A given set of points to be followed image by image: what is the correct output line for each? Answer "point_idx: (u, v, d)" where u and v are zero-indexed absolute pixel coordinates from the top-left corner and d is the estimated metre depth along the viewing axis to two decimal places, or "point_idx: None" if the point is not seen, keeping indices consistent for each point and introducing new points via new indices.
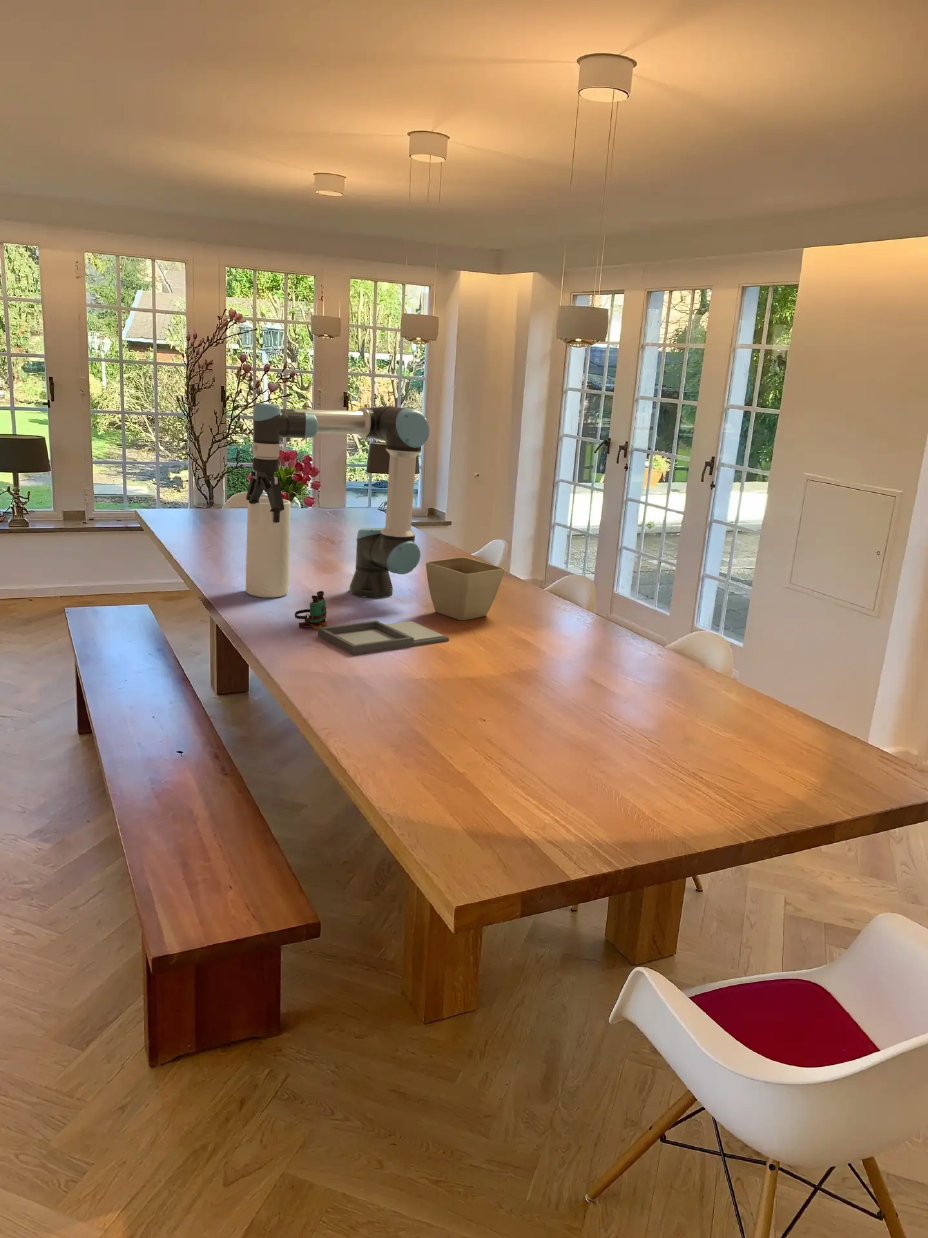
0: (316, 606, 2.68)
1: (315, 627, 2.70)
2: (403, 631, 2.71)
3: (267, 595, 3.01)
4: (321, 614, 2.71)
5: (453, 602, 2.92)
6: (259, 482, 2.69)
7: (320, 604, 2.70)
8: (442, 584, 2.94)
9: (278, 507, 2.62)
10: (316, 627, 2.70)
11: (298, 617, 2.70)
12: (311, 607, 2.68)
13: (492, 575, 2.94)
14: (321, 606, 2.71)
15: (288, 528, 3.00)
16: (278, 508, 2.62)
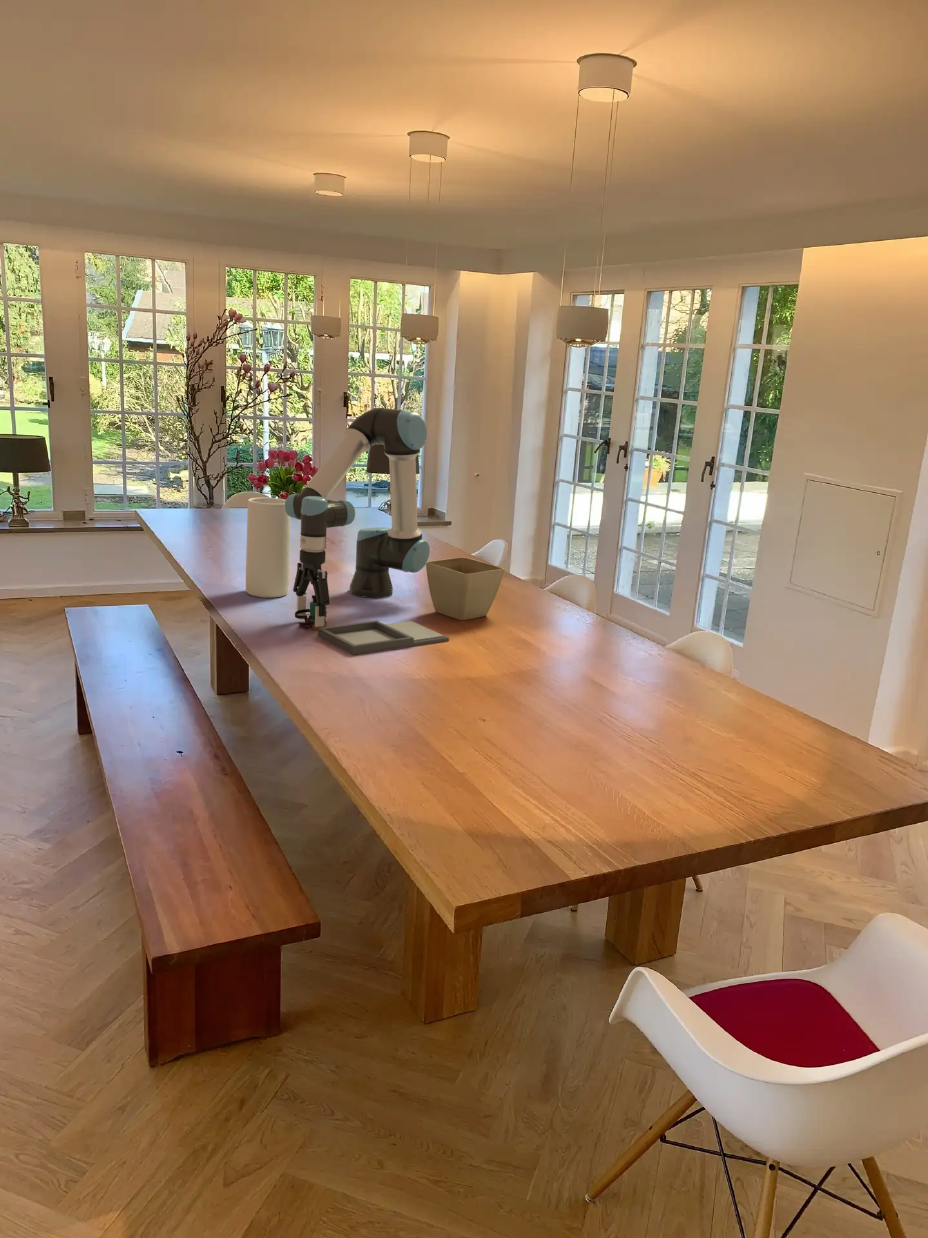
0: None
1: (315, 627, 2.70)
2: (403, 631, 2.71)
3: (267, 595, 3.01)
4: None
5: (453, 602, 2.92)
6: (306, 573, 2.70)
7: None
8: (442, 584, 2.94)
9: (324, 602, 2.65)
10: None
11: (298, 617, 2.70)
12: (311, 607, 2.68)
13: (492, 575, 2.94)
14: None
15: (288, 528, 3.00)
16: (324, 603, 2.65)
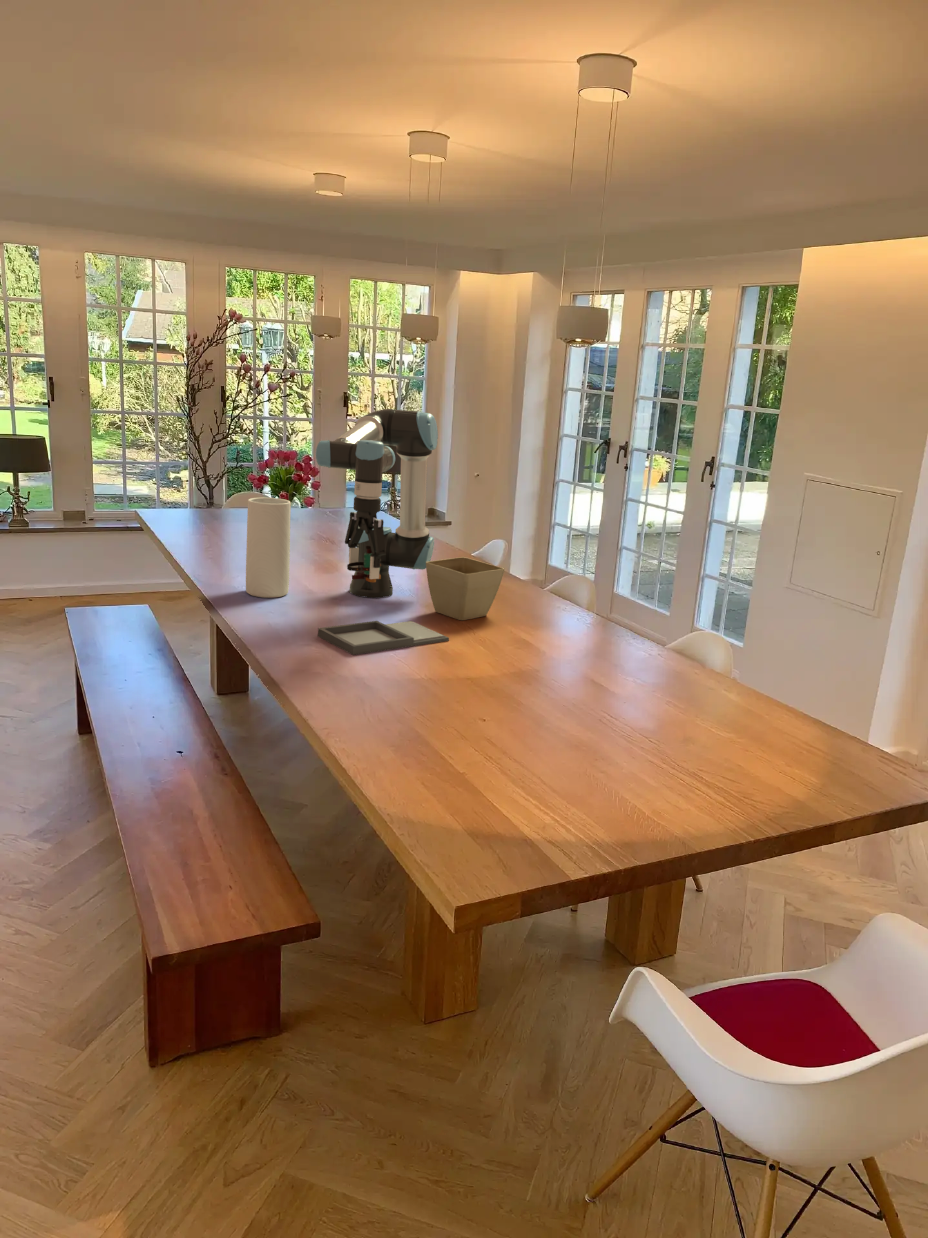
0: None
1: (369, 579, 2.55)
2: (403, 631, 2.71)
3: (267, 595, 3.01)
4: None
5: (453, 602, 2.92)
6: (360, 522, 2.55)
7: None
8: (442, 584, 2.94)
9: (380, 552, 2.49)
10: (370, 579, 2.55)
11: (351, 569, 2.55)
12: (365, 558, 2.53)
13: (492, 575, 2.94)
14: None
15: (288, 528, 3.00)
16: (380, 553, 2.49)
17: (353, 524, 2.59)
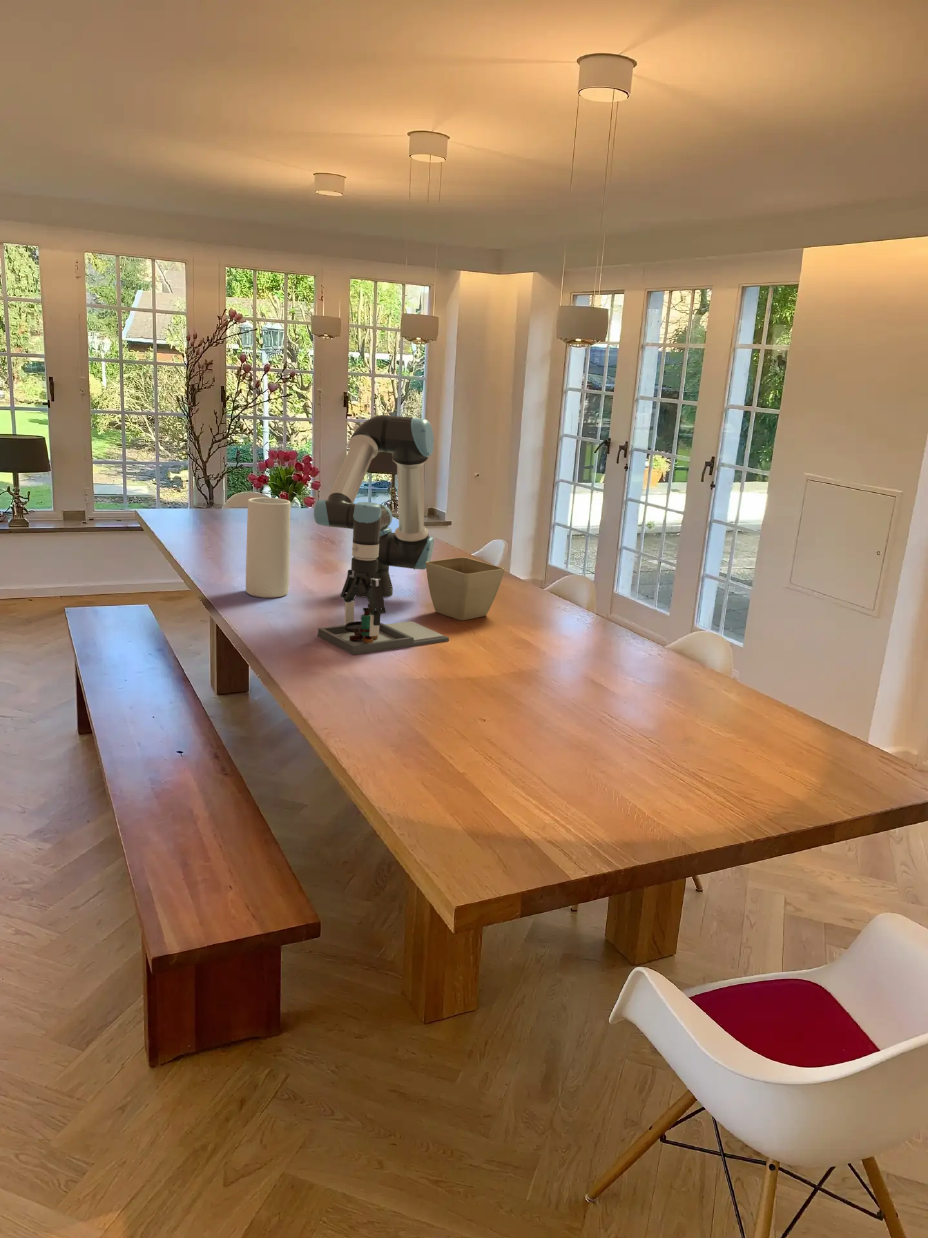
0: (368, 618, 2.58)
1: (366, 640, 2.59)
2: (403, 631, 2.71)
3: (267, 595, 3.01)
4: None
5: (453, 602, 2.92)
6: (357, 582, 2.60)
7: None
8: (441, 584, 2.94)
9: (380, 610, 2.53)
10: (367, 640, 2.60)
11: (349, 630, 2.59)
12: (363, 620, 2.58)
13: (492, 575, 2.94)
14: None
15: (288, 528, 3.00)
16: (380, 612, 2.53)
17: (350, 581, 2.64)
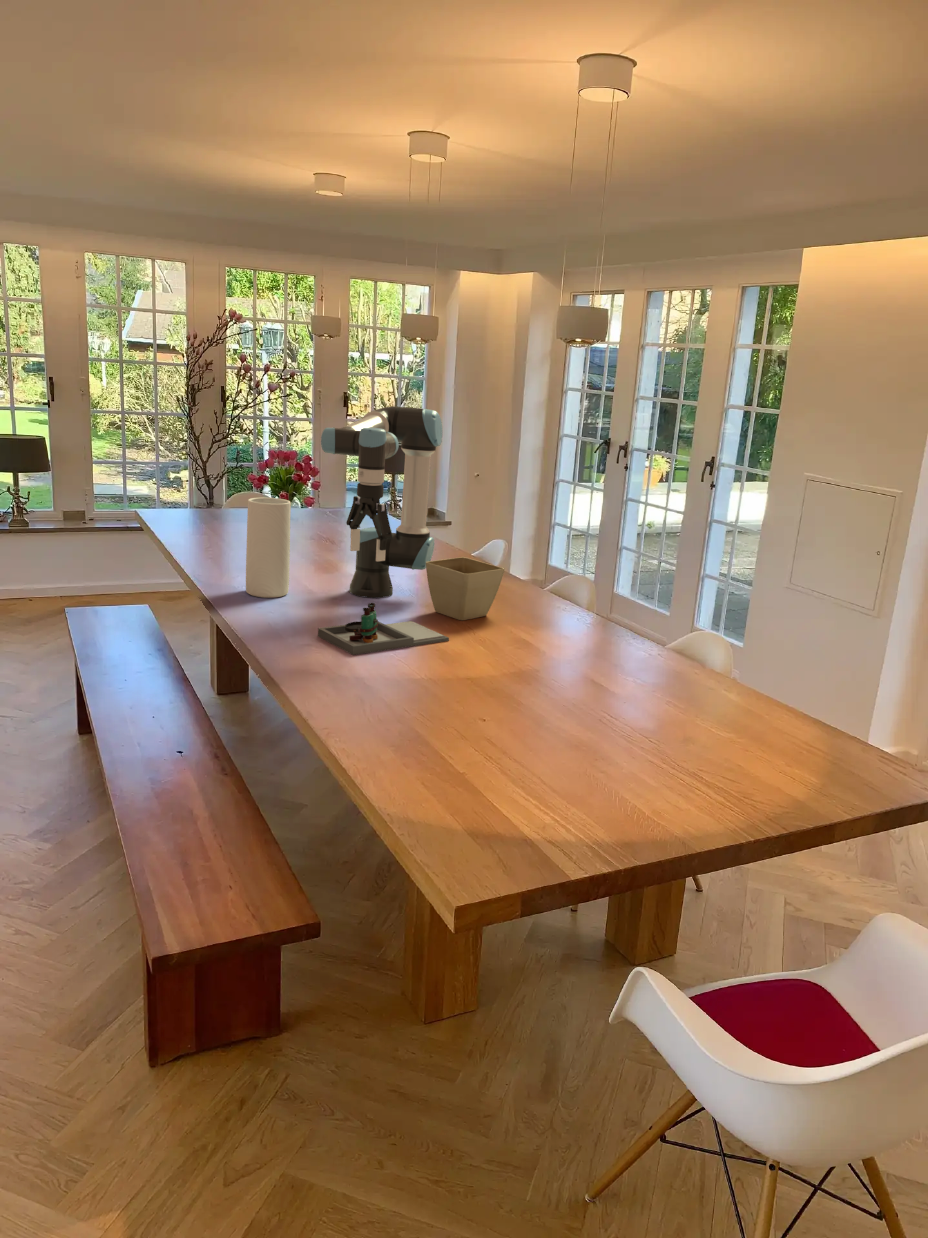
0: (368, 618, 2.58)
1: (366, 640, 2.59)
2: (403, 631, 2.71)
3: (267, 595, 3.01)
4: (373, 627, 2.60)
5: (453, 602, 2.92)
6: (363, 508, 2.62)
7: (372, 617, 2.60)
8: (442, 584, 2.94)
9: (386, 535, 2.55)
10: (367, 640, 2.60)
11: (349, 630, 2.59)
12: (363, 620, 2.58)
13: (492, 575, 2.94)
14: (373, 619, 2.60)
15: (288, 528, 3.00)
16: (386, 536, 2.55)
17: (356, 508, 2.66)
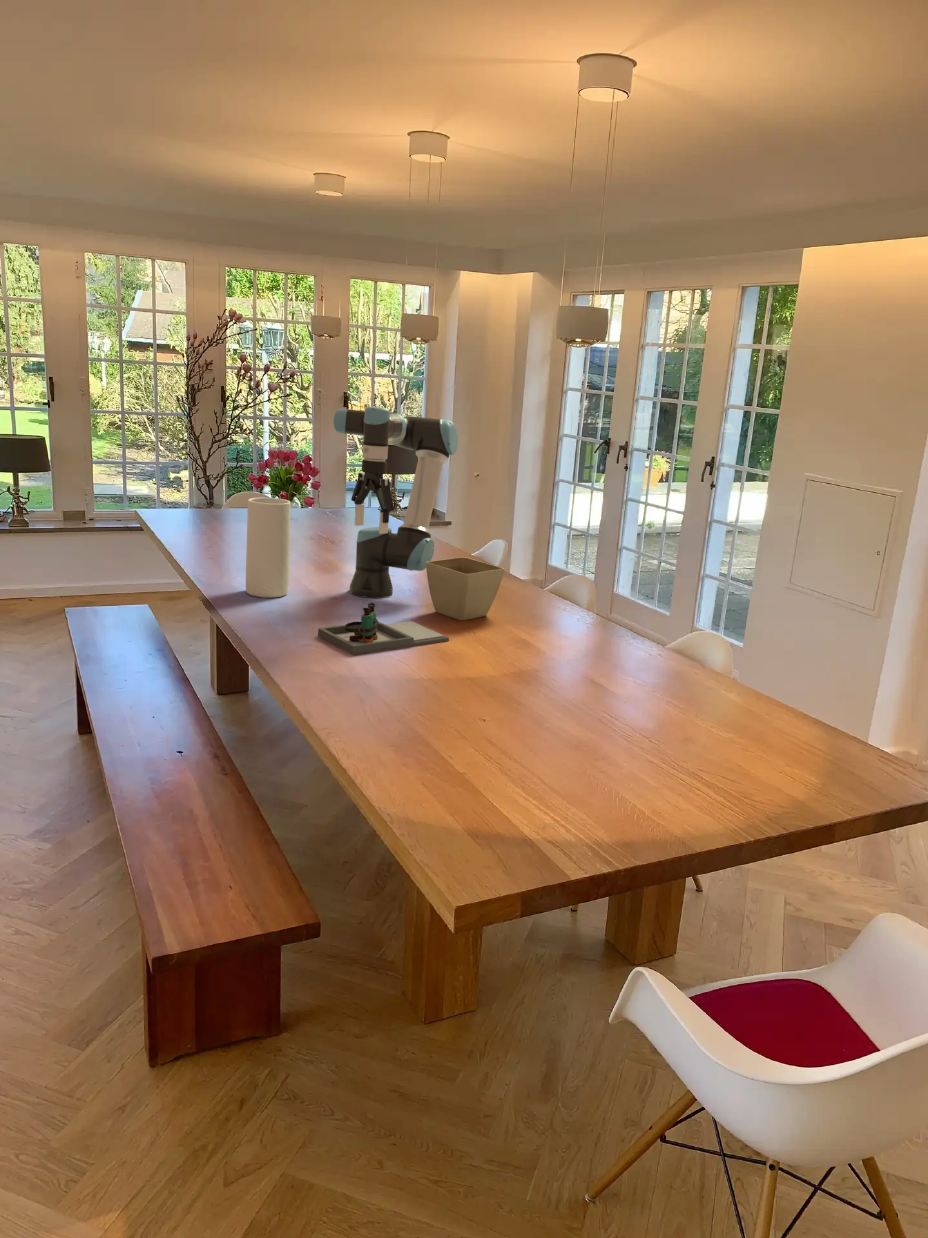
0: (368, 618, 2.58)
1: (366, 640, 2.59)
2: (403, 631, 2.71)
3: (267, 595, 3.01)
4: (373, 627, 2.60)
5: (453, 602, 2.92)
6: (367, 483, 2.76)
7: (372, 617, 2.60)
8: (442, 584, 2.94)
9: (389, 508, 2.69)
10: (367, 640, 2.60)
11: (349, 630, 2.59)
12: (363, 620, 2.58)
13: (492, 575, 2.94)
14: (373, 619, 2.60)
15: (288, 528, 3.00)
16: (389, 509, 2.69)
17: (360, 484, 2.80)
